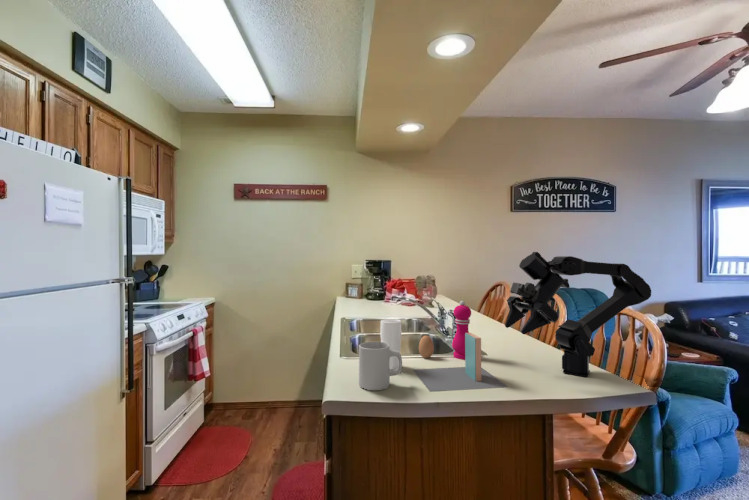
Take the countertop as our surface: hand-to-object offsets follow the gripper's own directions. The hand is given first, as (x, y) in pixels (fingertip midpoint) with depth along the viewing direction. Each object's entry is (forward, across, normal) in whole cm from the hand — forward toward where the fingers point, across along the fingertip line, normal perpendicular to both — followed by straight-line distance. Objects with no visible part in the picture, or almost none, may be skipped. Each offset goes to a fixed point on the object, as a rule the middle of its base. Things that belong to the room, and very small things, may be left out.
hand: (513, 330), depth 104 cm
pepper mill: (+16, -20, +3) cm, 25 cm away
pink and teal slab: (+18, 0, -1) cm, 18 cm away
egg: (+24, -21, -7) cm, 33 cm away
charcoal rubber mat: (+22, 0, -5) cm, 22 cm away
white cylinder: (+33, -12, -18) cm, 40 cm away
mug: (+37, +2, -22) cm, 43 cm away
